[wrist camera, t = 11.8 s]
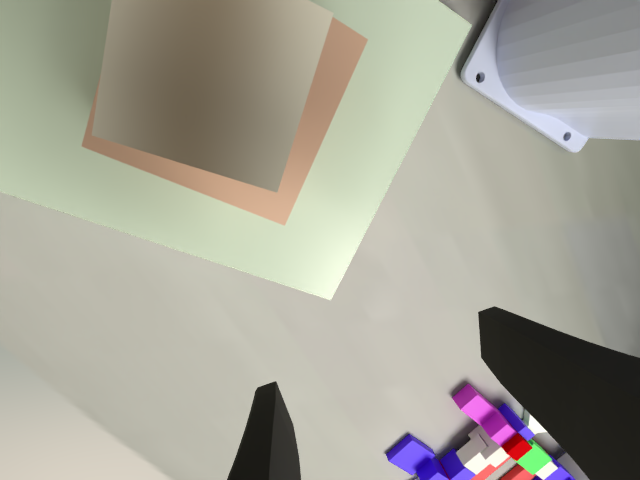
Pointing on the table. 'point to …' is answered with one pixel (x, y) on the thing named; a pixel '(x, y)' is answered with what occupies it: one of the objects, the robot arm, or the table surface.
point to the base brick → (312, 128)
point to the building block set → (487, 448)
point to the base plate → (196, 208)
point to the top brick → (210, 81)
